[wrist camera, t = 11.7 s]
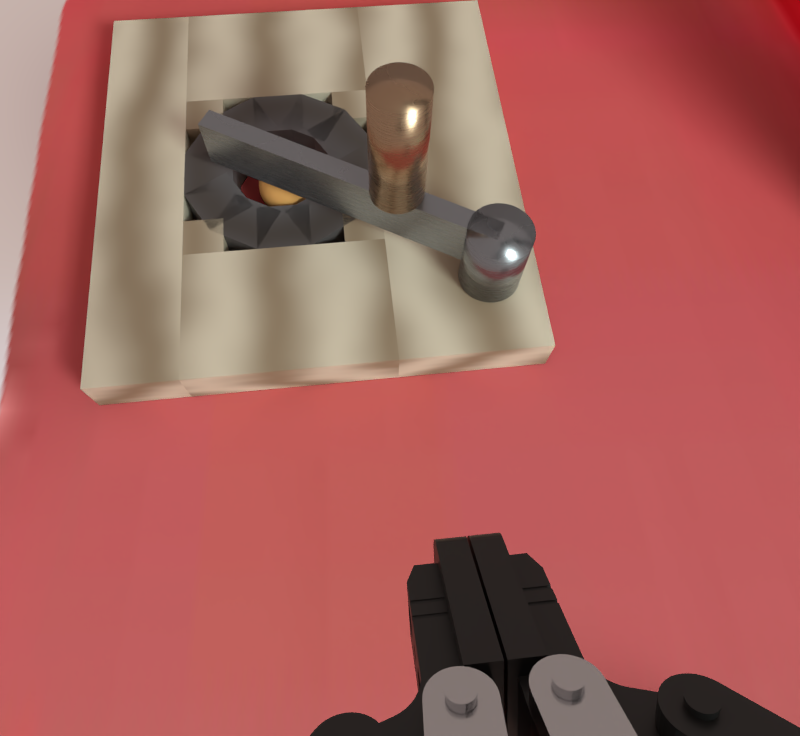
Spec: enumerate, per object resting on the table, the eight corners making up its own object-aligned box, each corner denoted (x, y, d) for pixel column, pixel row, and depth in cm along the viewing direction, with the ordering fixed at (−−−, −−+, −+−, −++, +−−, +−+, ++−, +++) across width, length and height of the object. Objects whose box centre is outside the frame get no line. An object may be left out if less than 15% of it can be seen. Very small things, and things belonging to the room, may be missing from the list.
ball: (331, 195, 42) (296, 234, 42) (293, 168, 43) (258, 206, 43) (318, 165, 39) (279, 207, 38) (277, 136, 40) (239, 177, 39)
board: (473, 30, 49) (477, 0, 47) (545, 363, 38) (555, 345, 36) (127, 51, 47) (114, 21, 45) (99, 405, 37) (80, 389, 34)
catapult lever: (528, 263, 38) (582, 118, 27) (506, 311, 37) (555, 179, 26) (236, 149, 41) (184, -21, 30) (206, 190, 39) (142, 27, 29)
